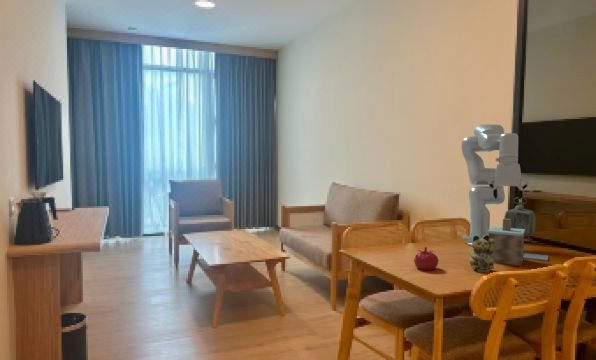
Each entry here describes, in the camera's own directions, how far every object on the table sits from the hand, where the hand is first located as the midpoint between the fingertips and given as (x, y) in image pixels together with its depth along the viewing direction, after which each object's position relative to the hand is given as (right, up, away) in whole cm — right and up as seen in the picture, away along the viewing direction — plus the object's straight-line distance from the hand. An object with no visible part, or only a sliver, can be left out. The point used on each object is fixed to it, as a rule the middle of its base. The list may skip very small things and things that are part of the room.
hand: (507, 198), depth 186 cm
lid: (0, -15, +1) cm, 15 cm away
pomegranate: (-41, -29, -11) cm, 51 cm away
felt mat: (+17, -28, +7) cm, 33 cm away
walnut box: (0, -28, +2) cm, 28 cm away
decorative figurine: (-18, -29, -14) cm, 37 cm away
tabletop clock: (+29, -26, +45) cm, 60 cm away
